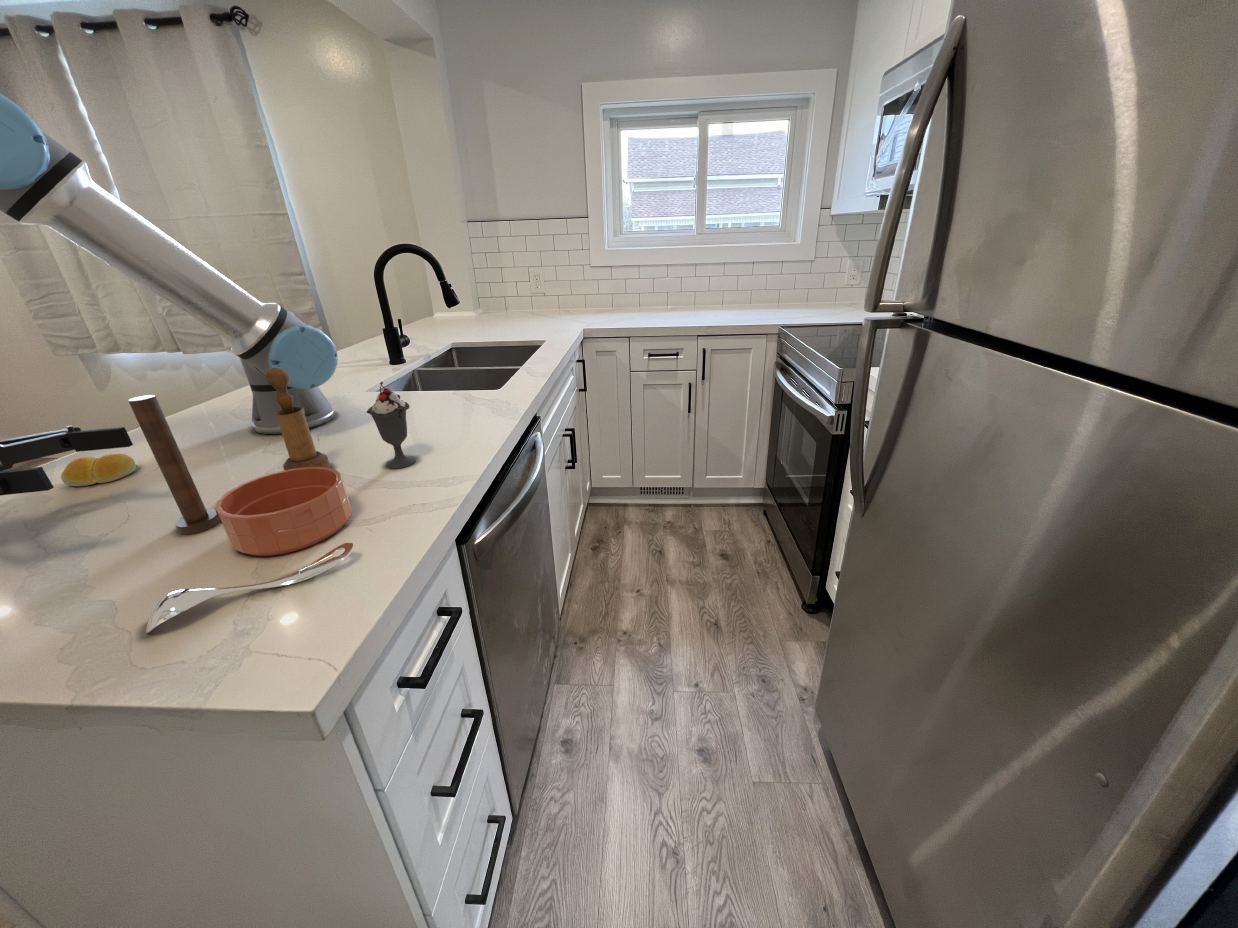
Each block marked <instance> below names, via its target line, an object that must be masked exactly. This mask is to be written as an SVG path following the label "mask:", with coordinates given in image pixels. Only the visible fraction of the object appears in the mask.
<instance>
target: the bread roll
mask: <svg viewBox="0 0 1238 928" xmlns="http://www.w3.org/2000/svg"><path fill="white" fill-rule="evenodd" d="M136 469H137V464H136V461H135V458H133V457H132V456H130V455H128V454H126V453H110V454H104V455H102V456H99V457H95V456H82V457H78V458H75V459H74V460H72V461H71V460H70V462H68V463H67V465H66V466H65V467H64V469H63V470H62V472H61V474H60V480H61V482H62V483H63V484H65V485H67V486H71V487H86V486H92V485H96V484H104V483H109V482H110V483H111V482H114V481H116V480H120V479H121V478H124V477H127V476H129V475H130V474H131V473H133V472H135V470H136Z"/></svg>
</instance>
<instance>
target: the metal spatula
mask: <svg viewBox="0 0 1238 928" xmlns="http://www.w3.org/2000/svg"><path fill="white" fill-rule="evenodd" d="M354 549H355V544H354V543H353V542H344V543H341V544H340V545H337V546H336V547H334V548H332V549H331V550H330V551H328V552H326V553H324V555H322V556H320V557H319V558H317V559H315V560H314V561H313V562H311V563H309V564H307V565H306V566H304V567H302V568H301V569H299V570H296V571H295V572H293V573H291V574H288V575H285V576H282V577H280V578H277V579H274V580H269V581H266V582H261V583H255V584H247V585H236V586H226V587H186V588H179V589H176V590H172V591H169V592H168V593H166V594H164V595H163V596H162V597H160V599H158V600H157V602H156V603H155V605H154V606H153V608H152V609H151V612H150V614H149V617H148V620H147V624H146V629H145V633H146V634H149V633H151V632H152V631H154V630H155V629H156V628H157V627H159V626H160V625H162V624H164V623H165V622H167V621H169V620H170V619H173V618H174V617H176V616H178V615H180V614H182V613H184V612H186V611H188V610H190V609H191V608H194V607H196V606H198V605H199V604H202V603H203V602H206V601H208V600H211V599H214V598H217V597H220V596H222V595H226V594H227V595H228V594H231V593H238V592H245V591H254V590H255V591H256V590H263V589H265V590H266V589H274V588H281V587H285V586H290V585H295V584H297V583H301V582H304V581H306V580H310V579H311V578H314V577H316V576H319V575H321V574H322V573H324V572H326V571H328V570H330V569H332V568H333V567H335V566H337V565H338V564H340V563H341V562H342V561H345V560H346V558H348V557H349V556H350V555H351V554H352V552H353V550H354ZM342 550H344V551H343V552H342V553H341V554H338V556H334V555H335V554H336V553H338V552H339V551H342Z"/></svg>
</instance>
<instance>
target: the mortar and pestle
mask: <svg viewBox="0 0 1238 928" xmlns="http://www.w3.org/2000/svg"><path fill="white" fill-rule="evenodd" d="M266 380H267V382H268V383H269V384H270V385H271V386H272V387H274V388H275V389H276V391H277V397H276V400H277V402H278V403H279V405H280V406H281V408H282V409H281V410H278V411H277V412H275V415H276V418H277V421H278V424H279V427H280V430H281V435H282V438H283V441H284V445H285V447H286V451H287V455H288V458H287V459H286V460H285V462H284V463H283V464H282V469H283V471H284V470H289V469H295V468H304V467H326V468H331V464H330V461H329V458H328V456H327V454H325V453H323V452H320V451H318V450H316V447H315V444H314V441H313V438H312V434H311V431H310V428H309V427H308V424H307V421H306V418H305V415H304V411H303V408H301V407H293V396H292V395H291V394H289V393H288V391H287V386H288V382H289V375H288V373H287V372H286V371H285V370H284V369H282V368H272V369H270V370H268V371H267V373H266ZM331 469H332V468H331Z"/></svg>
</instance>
